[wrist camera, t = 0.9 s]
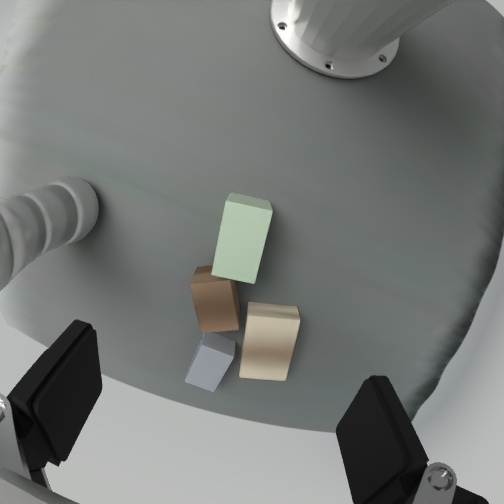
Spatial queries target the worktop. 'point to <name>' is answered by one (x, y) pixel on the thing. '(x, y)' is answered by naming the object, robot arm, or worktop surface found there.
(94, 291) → the worktop surface
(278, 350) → the birch brick
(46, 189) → the plastic bottle
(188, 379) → the slate brick
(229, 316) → the walnut brick
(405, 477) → the robot arm
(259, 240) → the sage brick
